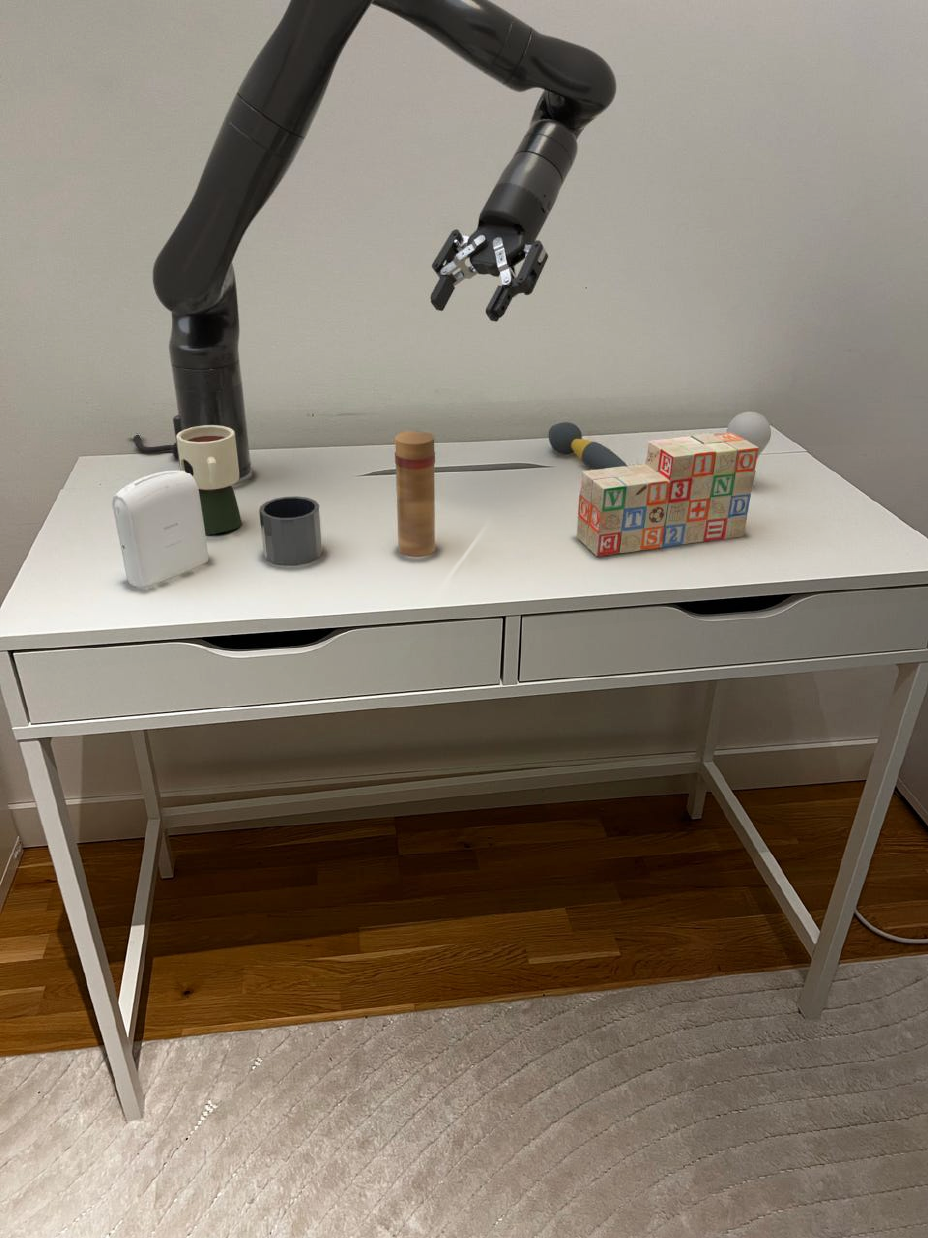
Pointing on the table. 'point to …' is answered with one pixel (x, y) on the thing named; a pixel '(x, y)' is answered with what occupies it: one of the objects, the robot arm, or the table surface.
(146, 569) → the photo printer
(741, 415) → the lightbulb
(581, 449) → the wand massager
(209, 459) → the character mug
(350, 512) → the table surface
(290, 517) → the cup
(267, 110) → the robot arm
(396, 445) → the red-banded tan cylinder
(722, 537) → the stack of blocks
